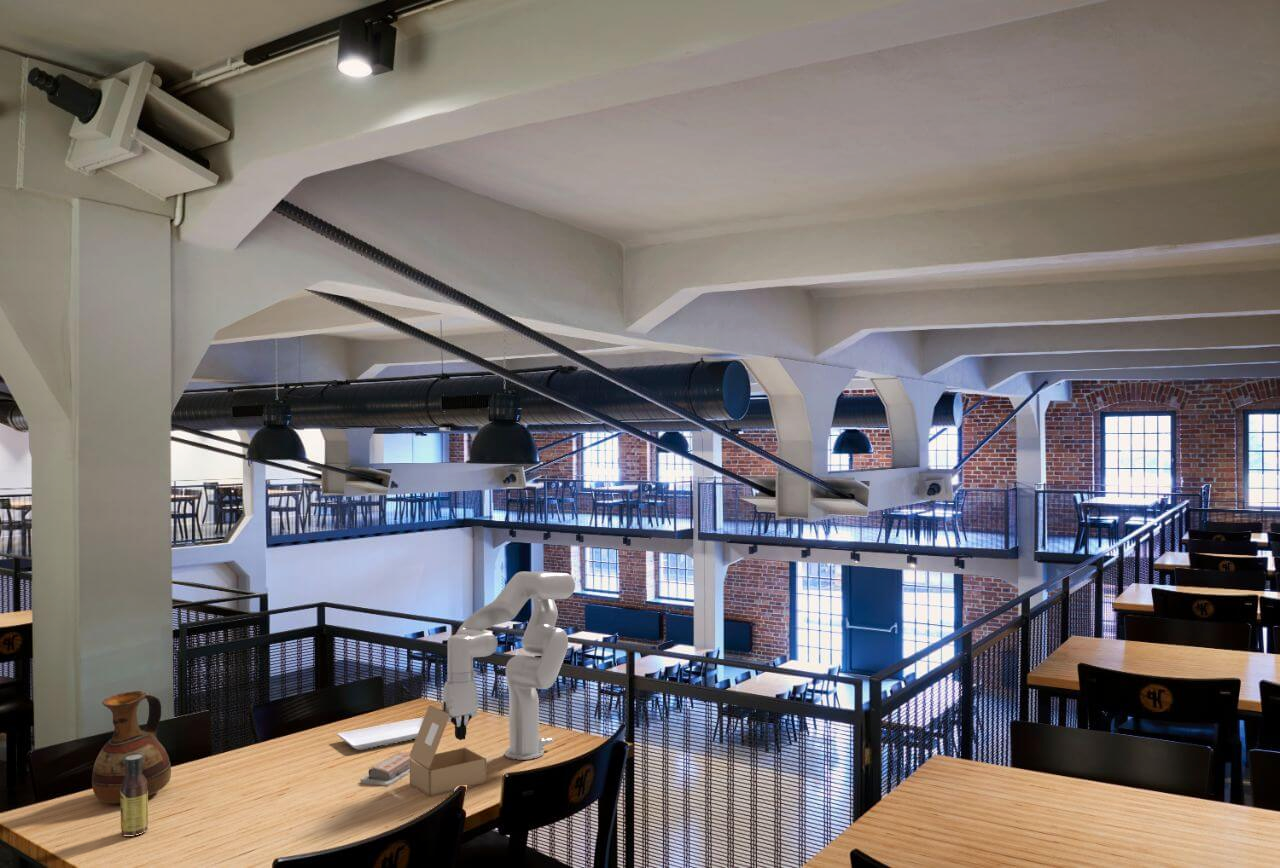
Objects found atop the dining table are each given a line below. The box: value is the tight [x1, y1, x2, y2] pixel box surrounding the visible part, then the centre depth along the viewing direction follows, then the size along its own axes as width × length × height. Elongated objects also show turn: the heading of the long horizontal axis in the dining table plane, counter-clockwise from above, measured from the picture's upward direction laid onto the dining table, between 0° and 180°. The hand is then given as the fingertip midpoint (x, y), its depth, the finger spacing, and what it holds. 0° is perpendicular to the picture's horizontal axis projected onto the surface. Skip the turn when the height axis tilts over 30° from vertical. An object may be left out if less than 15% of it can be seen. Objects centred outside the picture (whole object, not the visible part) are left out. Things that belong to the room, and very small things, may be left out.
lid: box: [409, 704, 453, 768], centre depth 273 cm, size 16×14×2 cm
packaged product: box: [360, 752, 413, 787], centre depth 283 cm, size 18×5×10 cm
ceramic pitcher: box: [91, 690, 172, 804], centre depth 268 cm, size 20×20×30 cm
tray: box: [336, 717, 424, 751], centre depth 319 cm, size 17×31×4 cm, turn 126°
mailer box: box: [409, 747, 488, 798], centre depth 275 cm, size 18×14×7 cm
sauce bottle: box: [120, 755, 149, 836], centre depth 241 cm, size 7×6×20 cm
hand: (460, 738), depth 278 cm, fingers closed
